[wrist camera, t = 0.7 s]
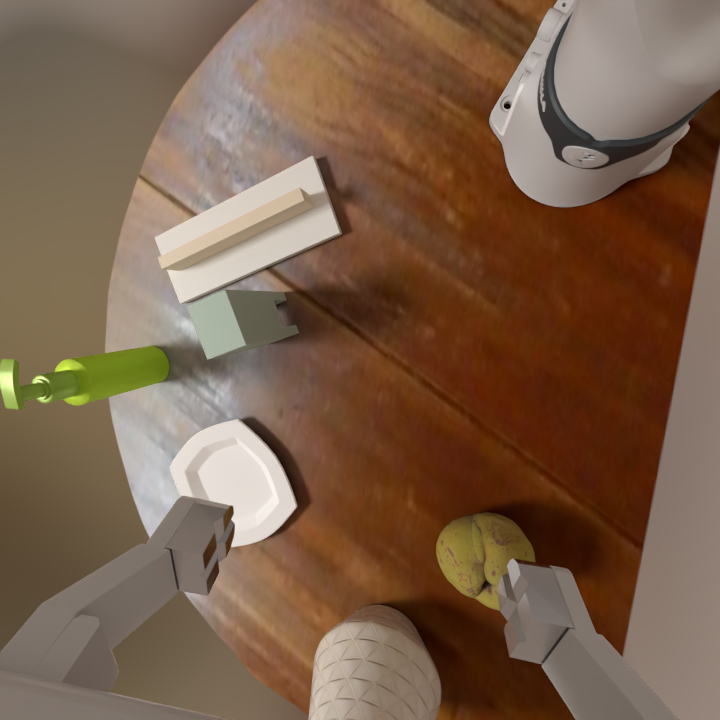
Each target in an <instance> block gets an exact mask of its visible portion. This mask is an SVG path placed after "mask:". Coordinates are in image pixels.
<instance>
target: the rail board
mask: <svg viewBox="0 0 720 720" xmlns="http://www.w3.org/2000/svg"><path fill="white" fill-rule="evenodd" d="M340 235H342V232H341V229H340V226H339V223H338V220H337V217H336V215H335V212H334V209H333V206H332V203H331V200H330V198H329V195H328V192H327V189H326V186H325V183H324V180H323V178H322V175H321V172H320V169H319V166H318V163H317V160H316V159H315V157H314V156H311V157H309V158H307V159H305V160H303V161H301V162H299V163H297V164H296V165H294V166H292V167H290V168H288V169H286V170H284V171H282V172H280V173H278V174H276V175H274V176H272V177H270V178H269V179H267V180H265V181H263V182H261V183H259V184H257V185H255V186H253V187H251V188H249V189H247V190H245V191H243V192H241V193H240V194H238V195H236V196H234V197H232V198H230V199H228V200H226V201H224V202H222V203H220V204H218V205H216V206H214V207H213V208H211V209H209V210H207V211H205V212H203V213H201V214H199V215H197V216H195V217H193V218H191V219H189V220H187V221H185V222H184V223H182V224H180V225H178V226H176V227H174V228H172V229H170V230H168V231H166V232H164V233H162V234H160V235H158V236H157V237H155V240H156V243H157V245H158V248H159V250H160V253H161V255H162V256H160V257H158V260H159V263H160V265H161V268H162V269H167V271H168V273H169V276H170V279H171V281H172V284H173V286H174V289H175V291H176V294H177V296H178V299H179V302H180V303H188V302H190V301H192V300H195V299H197V298H199V297H201V296H204V295H206V294H208V293H210V292H213V291H215V290H217V289H220V288H222V287H224V286H226V285H229V284H231V283H233V282H235V281H238V280H240V279H242V278H245V277H247V276H249V275H251V274H254V273H256V272H258V271H260V270H263V269H265V268H267V267H269V266H272V265H274V264H276V263H279V262H281V261H283V260H285V259H288V258H290V257H292V256H294V255H297V254H299V253H301V252H304V251H306V250H308V249H310V248H313V247H315V246H317V245H319V244H322V243H324V242H326V241H328V240H331V239H333V238H335V237H338V236H340Z"/></svg>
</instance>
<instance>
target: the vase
mask: <svg viewBox="0 0 720 720" xmlns="http://www.w3.org/2000/svg"><path fill="white" fill-rule="evenodd" d="M440 703H441V683H440V679H439V675H438V672H437V669H436V667H435V664H434V662H433V661H432V659H431V657H430V655H429V653H428V651H427V649H426V647H425V645H424V643H423V641H422V639H421V637H420V635H419V633H418V631H417V629H416V628H415V626H414V625H413V623H412V622H411V621H410V620H409V618H407V617H406V616H405V615H404V614H403V613H401V612H400V611H398V610H396V609H394V608H392V607H389V606H385V605H369V606H365V607H363V608H361V609H359V610H358V611H356V612H355V613H353V614H352V615H351V616H349V617H348V618H346V619H345V620H343V621H342V622H341V623H339V624H338V625H336V626H335V627H334V628H332V629H331V630H330V631H329V632H328V633H327V634H326V635H325V636H324V637H323V639H322V640H321V642H320V644H319V646H318V648H317V651H316V654H315V659H314V668H313V679H312V689H311V700H310V711H309V720H436V718H437V715H438V711H439V708H440Z"/></svg>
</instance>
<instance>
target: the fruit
mask: <svg viewBox="0 0 720 720" xmlns="http://www.w3.org/2000/svg"><path fill="white" fill-rule="evenodd" d="M436 551H437V558H438V562H439V565H440V567H441V569H442V571H443V573H444V575H445V576H446V578H447V579H448V581H449V582H450V583H451V584H453V586H454V587H455V588H456V589H458V590H459V591H460V592H461V593H462V594H464V595H466V596H468V597H471V598H475V599H477V600H479V601H480V602H481V603H482V604H484V605H485V606H487V607H489V608H492V609H496V610H500V608H499V602H498V586H499V581H500V579H501V577H502V575H504V574H506V573H508V568H507V565H508V563H509V561H510V560H511V559H513V558H514V559H520V560H525V561H531V562H536V561H535V554H534V550H533V547H532V545H531V543H530V542H529V541H528V539H527V538H526V536H525V535H524V533H523V532H522V530H521V529H520V528H519V527H518V525H517V524H516V523H515V522H513V521H512V520H511V519H509V518H507V517H505V516H503V515H500V514H496V513H488V512H485V513H478V514H474V515H470V516H464V517H461V518H458V519H456V520H454V521H452V522H451V523H449V524H448V525H447V526H446V527H445V528H444V529H443V531H442V532H441V533H440V536H439V538H438V541H437V546H436Z"/></svg>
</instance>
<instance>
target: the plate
mask: <svg viewBox="0 0 720 720" xmlns="http://www.w3.org/2000/svg"><path fill="white" fill-rule="evenodd" d="M169 468H170V471H171V473H172V476H173V479H174V481H175V484H176V486H177V489H178V491H179V494H180V496H188V497H194V498H199V499H203V500H208V501H212V502H217V503H222V504H227V505H231V506H233V509H234V515H233V517H232V519H231V520H232V521H233V522H234V524H235V532H234V538H233V541H232V545H231V547H237V546H243V545H248V544H252V543H255V542H258V541H261V540H263V539H265V538H267V537H268V536H270V535H271V534H273V533H274V532H275V531H276V530H278V529H279V528H280V527H281V526H282V525H283V524H284V522H285V521H286V520H287V519H288V518H289V517H290V515H291V514H292V513H293V512H294V510H295V509H296V508H297V507H298V505H297V502H296V499H295V496H294V493H293V490H292V488H291V485H290V482H289V480H288V477H287V475H286V473H285V471H284V469H283V467H282V465H281V463H280V461H279V460H278V458H277V456H276V455H275V454H274V453H273V451H272V450H271V449H270V448H269V446H268V445H267V444H266V443H265V442H264V441H263V440H262V439H261V438H260V437H259V436H258V435H257V434H256V433H255V432H253V431H252V430H251V429H250V428H249V427H248V426H247V425H246V424H244V423H243V422H242V421H241V420H240V419H236V420H232V421H227V422H224V423H220V424H217V425H213V426H211V427H208V428H206V429H204V430H202V431H200V432H199V433H197V434H195V435H194V436H193V437H192V438H191V439H190V440H188V442H187V443H186V444H185V445H184V446H183V448H182V449H181V450H180V452H179V453H178V455H177V456H176V458H175V459H174V461H173V462H172V464H171V465H170V467H169Z"/></svg>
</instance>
